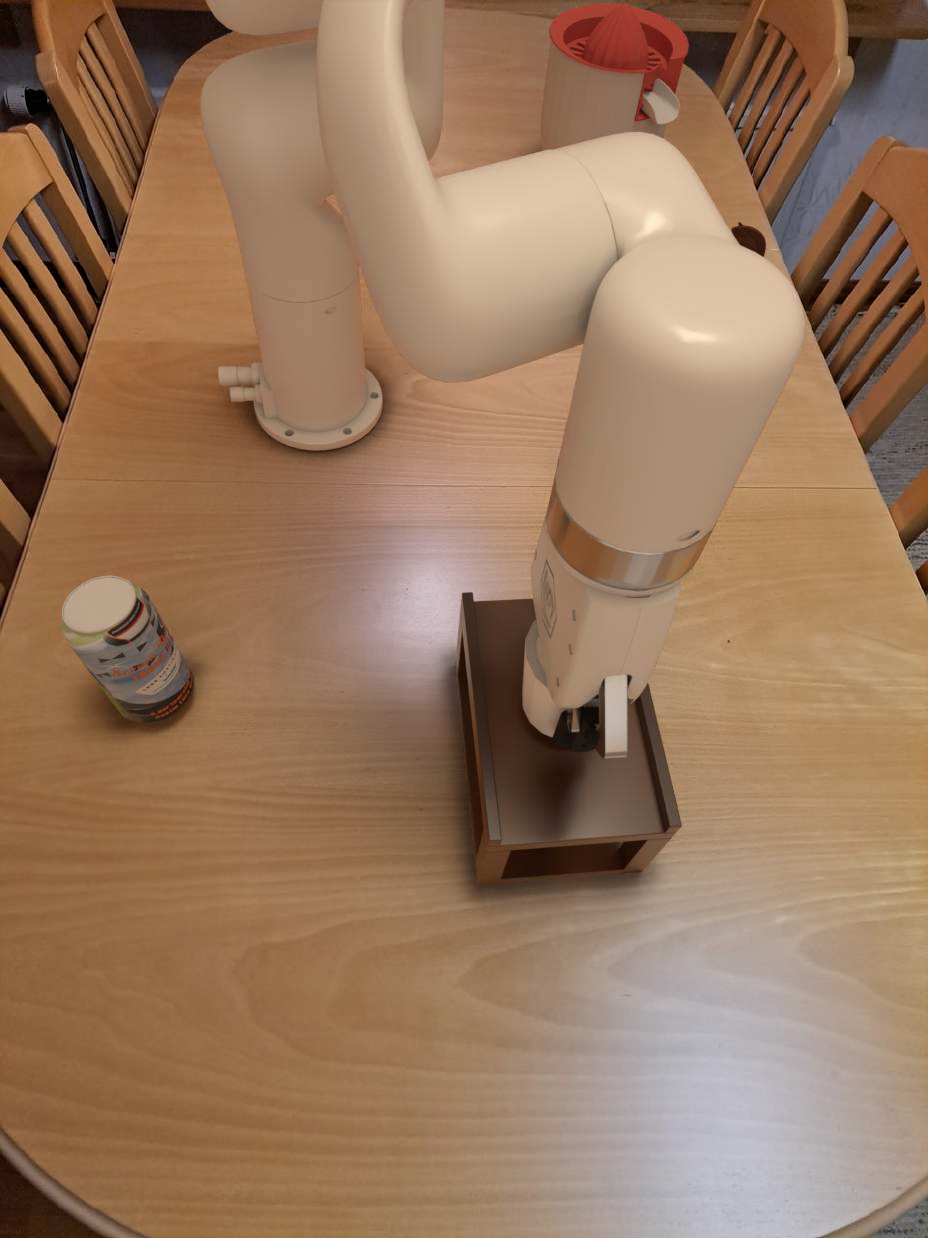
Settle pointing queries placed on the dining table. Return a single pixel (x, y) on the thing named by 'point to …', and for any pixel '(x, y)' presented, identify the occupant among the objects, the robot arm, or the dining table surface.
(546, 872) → the rack
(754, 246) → the chess piece
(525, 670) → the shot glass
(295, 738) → the dining table surface
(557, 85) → the citrus juicer
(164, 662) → the beverage can
